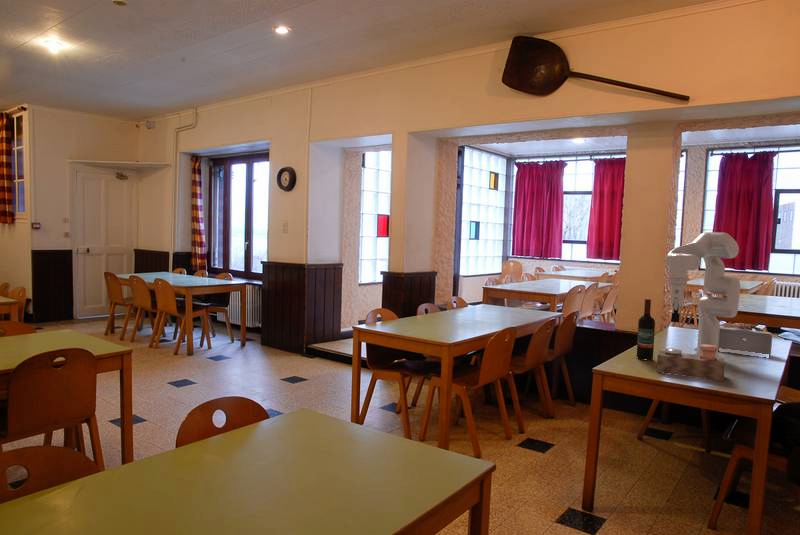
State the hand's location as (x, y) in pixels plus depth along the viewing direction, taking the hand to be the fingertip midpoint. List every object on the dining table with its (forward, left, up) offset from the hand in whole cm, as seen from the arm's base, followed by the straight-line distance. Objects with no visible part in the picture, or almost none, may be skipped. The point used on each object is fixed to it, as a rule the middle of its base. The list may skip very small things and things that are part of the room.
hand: (675, 321), depth 243 cm
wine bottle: (-24, 0, -23) cm, 34 cm away
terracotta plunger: (+8, +12, -18) cm, 23 cm away
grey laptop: (-40, +63, -23) cm, 78 cm away
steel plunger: (0, 0, -21) cm, 21 cm away
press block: (+4, +6, -23) cm, 24 cm away
